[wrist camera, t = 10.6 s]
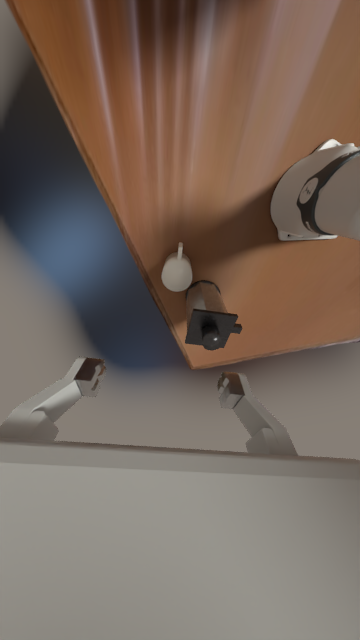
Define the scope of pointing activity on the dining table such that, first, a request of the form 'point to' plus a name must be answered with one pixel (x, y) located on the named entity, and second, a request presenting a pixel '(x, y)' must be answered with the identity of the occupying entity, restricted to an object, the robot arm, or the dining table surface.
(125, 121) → the dining table surface
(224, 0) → the dining table surface
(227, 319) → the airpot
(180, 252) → the diner mug
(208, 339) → the pump plunger
